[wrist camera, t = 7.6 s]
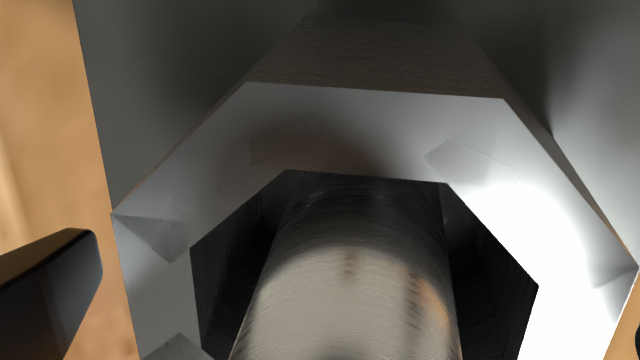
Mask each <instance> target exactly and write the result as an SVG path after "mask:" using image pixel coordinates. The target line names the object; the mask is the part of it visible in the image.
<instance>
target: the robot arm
mask: <svg viewBox="0 0 640 360" xmlns="http://www.w3.org/2000/svg"><path fill="white" fill-rule="evenodd" d="M102 276H103V266H102V262H101V257H100V252H99V248H98V243H97V239H96V236H95V234H94V233H93V232H92V231H91V230H88V229H79V228H66V229H63V230H61V231H58V232H56V233H53V234H51V235H49V236H46V237H44V238H41V239H39V240H37V241H34V242H32V243H29V244H27V245H24V246H22V247H20V248H17V249H15V250H12V251H10V252H8V253H5V254H3V255H0V360H63V358H64V357H65V355H66V353H67V351H68V349H69V347H70V345H71V343H72V341H73V339H74V337H75V335H76V333H77V331H78V328H79V326H80V324H81V322H82V320H83V318H84V316H85V314H86V312H87V310H88V308H89V306H90V304H91V302H92V300H93V298H94V295H95V293H96V291H97V289H98V287H99V285H100V283H101V280H102ZM635 347H636V351H637V355H638V358H639V360H640V324H639V326H638V328H637V331H636V334H635Z"/></svg>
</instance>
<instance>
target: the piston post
mask: <svg viewBox="0 0 640 360" xmlns="http://www.w3.org/2000/svg"><path fill="white" fill-rule="evenodd" d="M72 2H73V7H74V12H75V17H76V23H77V28H78V33H79V38H80V44H81V49H82V54H83V59H84V64H85V70H86V75H87V80H88V85H89V90H90V96H91V101H92V106H93V111H94V116H95V122H96V127H97V132H98V137H99V142H100V148H101V153H102V158H103V163H104V169H105V174H106V179H107V184H108V189H109V195H110V200H111V205H112V210H113V211H114V210H115V209H116V207H117V206H118V205H119V204H120V203H121V202H122V201H123V200H124V199H125V198H126V197H127V196H128V195H129V194H130V193H131V192H132V190H133V189H134V188H135V187H136V186H137V185H138V184H139V183H140V182H141V181H142V180H143V179H144V178H145V177H146V176H147V175H148V173H149V172H150V171H151V170H152V169H153V168H154V167H155V166H156V165H157V164H158V163H159V162H160V161H161V160H162V159H163V158H164V156H165V155H166V154H167V153H168V152H169V151H170V150H171V149H172V148H173V147H174V146H175V145H176V144H177V143H178V142H179V141H180V139H181V138H182V137H183V136H184V135H185V134H186V133H187V132H188V131H189V130H190V129H191V128H192V127H193V126H194V125H195V124H196V122H197V121H198V120H199V119H200V118H201V117H202V116H203V115H204V114H205V113H206V112H207V111H208V110H209V109H210V108H211V107H212V106H213V105H214V104H215V103H216V102H217V101H218V100H219V99H220V98H221V97H222V96H223V95H224V94H225V93H226V92H227V91H228V90H229V89H230V88H231V87H232V86H233V85H234V84H235V83H236V82H237V81H238V80H239V79H240V78H241V77H243V76H244V75H245V74H246V73H247V72H248V71H249V70H250V69H251V68H252V67H253V66H254V65H255V64H256V63H257V62H258V61H259V60H260V59H261V58H262V57H263V56H264V55H265V54H266V53H267V52H268V51H269V50H270V49H271V48H272V47H273V46H274V45H275V44H276V43H277V42H278V41H279V40H280V39H281V38H282V37H283V36H284V35H285V34H286V33H287V32H288V31H289V30H290V29H291V28H292V27H293V26H294V25H295V24H296V23H297V22H298V21H299V20H300V19H301V18H302V17H321V18H340V19H359V20H378V21H397V22H416V23H435V24H454V25H464V26H465V28H466V29H467V30H468V31H469V33H470V34H471V35H472V36H473V38H474V39H475V40H476V41H477V43H478V44H479V45H480V47H481V48H482V49H483V50H484V52H485V53H486V54H487V55H488V57H489V58H490V59H491V60H492V62H493V63H494V64H495V65H496V67H497V68H498V69H499V70H500V72H501V73H502V74H503V75H504V77H505V78H506V79H507V80H508V82H509V83H510V84H511V85H512V87H513V88H514V89H515V90H516V92H517V93H518V94H519V95H520V97H521V98H522V99H523V100H524V102H525V103H526V104H527V105H528V107H529V108H530V109H531V110H532V112H533V113H534V114H535V115H536V117H537V118H538V119H539V120H540V122H541V123H542V124H543V125H544V127H545V128H546V129H547V130H548V132H549V133H550V134H551V135H552V137H553V138H554V139H555V141H556V142H557V144H558V145H559V147H560V148H561V150H562V151H563V153H564V154H565V156H566V157H567V159H568V160H569V162H570V163H571V165H572V166H573V168H574V169H575V171H576V172H577V174H578V175H579V177H580V178H581V180H582V181H583V183H584V184H585V186H586V187H587V189H588V190H589V192H590V193H591V195H592V196H593V198H594V199H595V201H596V202H597V204H598V205H599V207H600V208H601V210H602V211H603V213H604V214H605V216H606V217H607V219H608V220H609V222H610V223H611V225H612V226H613V228H614V229H615V231H616V232H617V234H618V235H619V237H620V238H621V240H622V241H623V243H624V244H625V246H626V247H627V249H628V250H629V252H630V253H631V255H632V256H633V258H634V259H635V261H636V262H637V264H638V265H639V270H638V272H637V275H636V277H635V279H634V282H633V284H632V287H631V289H630V292H629V294H628V297H627V299H626V301H625V304H624V306H623V309H622V311H621V314H622V312H623V310H624V307H625V305H626V303H627V300H628V298H629V296H630V293H631V291H632V288H633V286H634V284H635V281H636V279H637V277H638V274H639V272H640V0H72ZM260 210H261V217H262V218H263V219H264V220H265V221H266V222H267V223H268V224H269V225H270V226H271V227H273V228H274V229H275V230H276V231H277V232H276V235H275V238H274V240H273V243H272V246H271V248H270V251H269V253H268V256H267V259H266V261H265V264H264V267H263V269H262V272H261V275H260V277H259V280H258V283H257V285H256V288H255V291H254V293H253V296H252V298H251V301H250V304H249V306H248V309H247V312H246V314H245V317H244V320H243V322H242V325H241V328H240V330H239V333H238V335H237V338H236V341H235V343H234V346H233V349H232V351H231V354H230V357H229V359H228V360H463V359H462V352H461V345H460V337H459V330H458V323H457V316H456V309H455V301H454V294H453V287H452V280H451V273H450V266H449V258H448V253H450V252H451V251H453V250H455V249H456V248H458V247H460V246H461V245H463V244H465V243H466V242H468V241H470V240H471V239H473V238H474V237H475V234H476V229H477V224H478V219H479V218H478V217H477V216H476V215H475V214H474V212H473V211H472V210H471V209H470V208H469V207H468V206H467V205H466V204H465V202H464V201H463V200H462V199H461V198H460V197H459V196H458V195H457V194H456V193H455V191H454V190H453V189H452V188H451V187H450V186H449V185H448V184H447V183H443V182H431V181H420V180H408V179H397V178H385V177H374V176H362V175H350V174H339V173H327V172H316V171H304V170H292V169H285V170H284V171H283V172H281V173H280V174H279V175H278V176H277V177H275V178H274V179H273V180H272V181H270V182H269V183H268V184H267V185H266V186H264V187H263V188H262V189H261V190H260ZM621 314H620V316H619V319H620V317H621ZM619 319H618V321H619ZM618 321H617V323H616V326H617V324H618ZM616 326H615V328H614V331H615V329H616ZM614 331H613V333H614ZM613 333H612V336H613ZM612 336H611V338H612ZM611 338H610V340H611ZM610 340H609V343H610ZM609 343H608V345H609ZM608 345H607V347H608ZM606 350H607V348H606ZM606 350H605V352H606ZM604 355H605V353H604ZM604 355H603V357H604ZM602 359H603V358H602Z"/></svg>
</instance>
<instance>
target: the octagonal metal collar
mask: <svg viewBox="0 0 640 360" xmlns="http://www.w3.org/2000/svg"><path fill="white" fill-rule="evenodd" d="M285 169H292V170H304V171H316V172H327V173H339V174H350V175H362V176H374V177H385V178H397V179H408V180H420V181H431V182H443V183H447V184H448V185H449V186H450V187H451V188H452V189H453V190H454V191H455V193H456V194H457V195H458V196H459V197H460V198H461V199H462V200H463V201H464V202H465V204H466V205H467V206H468V207H469V208H470V209H471V210H472V211H473V212H474V214H475V215H476V216H477V217H478V218H479V219H478V224H477V229H476V234H475V237H474V238H473V239H471V240H470V241H468V242H466V243H465V244H463V245H461V246H460V247H458V248H456V249H455V250H453V251H451V252H450V253H448V258H449V266H450V273H451V280H452V287H453V294H454V301H455V309H456V316H457V323H458V330H459V337H460V345H461V352H462V359H463V360H602V358H603V355H604V353H605V350H606V348H607V345H608V343H609V340H610V338H611V336H612V333H613V331H614V328H615V326H616V323H617V321H618V319H619V316H620V314H621V311H622V309H623V306H624V304H625V301H626V299H627V297H628V294H629V292H630V289H631V287H632V284H633V282H634V279H635V277H636V275H637V272H638V270H639V265H638V264H637V262H636V261H635V259H634V258H633V256H632V255H631V253H630V252H629V250H628V249H627V247H626V246H625V244H624V243H623V241H622V240H621V238H620V237H619V235H618V234H617V232H616V231H615V229H614V228H613V226H612V225H611V223H610V222H609V220H608V219H607V217H606V216H605V214H604V213H603V211H602V210H601V208H600V207H599V205H598V204H597V202H596V201H595V199H594V198H593V196H592V195H591V193H590V192H589V190H588V189H587V187H586V186H585V184H584V183H583V181H582V180H581V178H580V177H579V175H578V174H577V172H576V171H575V169H574V168H573V166H572V165H571V163H570V162H569V160H568V159H567V157H566V156H565V154H564V153H563V151H562V150H561V148H560V147H559V145H558V144H557V142H556V141H555V139H554V138H553V137H552V135H551V134H550V133H549V132H548V130H547V129H546V128H545V127H544V125H543V124H542V123H541V122H540V120H539V119H538V118H537V117H536V115H535V114H534V113H533V112H532V110H531V109H530V108H529V107H528V105H527V104H526V103H525V102H524V100H523V99H522V98H521V97H520V95H519V94H518V93H517V92H516V90H515V89H514V88H513V87H512V85H511V84H510V83H509V82H508V80H507V79H506V78H505V77H504V75H503V74H502V73H501V72H500V70H499V69H498V68H497V67H496V65H495V64H494V63H493V62H492V60H491V59H490V58H489V57H488V55H487V54H486V53H485V52H484V50H483V49H482V48H481V47H480V45H479V44H478V43H477V41H476V40H475V39H474V38H473V36H472V35H471V34H470V33H469V31H468V30H467V29H466V28H465V26H464V25H454V24H435V23H416V22H397V21H378V20H359V19H340V18H321V17H302V18H301V19H300V20H299V21H298V22H297V23H296V24H295V25H294V26H293V27H292V28H291V29H290V30H289V31H288V32H287V33H286V34H285V35H284V36H283V37H282V38H281V39H280V40H279V41H278V42H277V43H276V44H275V45H274V46H273V47H272V48H271V49H270V50H269V51H268V52H267V53H266V54H265V55H264V56H263V57H262V58H261V59H260V60H259V61H258V62H257V63H256V64H255V65H254V66H253V67H252V68H251V69H250V70H249V71H248V72H247V73H246V74H245V75H244V76H243V77H241V78H240V79H239V80H238V81H237V82H236V83H235V84H234V85H233V86H232V87H231V88H230V89H229V90H228V91H227V92H226V93H225V94H224V95H223V96H222V97H221V98H220V99H219V100H218V101H217V102H216V103H215V104H214V105H213V106H212V107H211V108H210V109H209V110H208V111H207V112H206V113H205V114H204V115H203V116H202V117H201V118H200V119H199V120H198V121H197V122H196V124H195V125H194V126H193V127H192V128H191V129H190V130H189V131H188V132H187V133H186V134H185V135H184V136H183V137H182V138H181V139H180V141H179V142H178V143H177V144H176V145H175V146H174V147H173V148H172V149H171V150H170V151H169V152H168V153H167V154H166V155H165V156H164V158H163V159H162V160H161V161H160V162H159V163H158V164H157V165H156V166H155V167H154V168H153V169H152V170H151V171H150V172H149V173H148V175H147V176H146V177H145V178H144V179H143V180H142V181H141V182H140V183H139V184H138V185H137V186H136V187H135V188H134V189H133V190H132V192H131V193H130V194H129V195H128V196H127V197H126V198H125V199H124V200H123V201H122V202H121V203H120V204H119V205H118V206H117V207H116V209H115V210H114V211H113V212H112V213H111V214H110V215H111V220H112V225H113V230H114V235H115V239H116V244H117V249H118V254H119V259H120V264H121V269H122V274H123V279H124V284H125V288H126V293H127V298H128V303H129V308H130V313H131V318H132V323H133V328H134V333H135V338H136V342H137V347H138V352H139V357H140V360H228V359H229V357H230V354H231V351H232V349H233V346H234V343H235V341H236V338H237V335H238V333H239V330H240V328H241V325H242V322H243V320H244V317H245V314H246V312H247V309H248V306H249V304H250V301H251V298H252V296H253V293H254V291H255V288H256V285H257V283H258V280H259V277H260V275H261V272H262V269H263V267H264V264H265V261H266V259H267V256H268V253H269V251H270V248H271V246H272V243H273V240H274V238H275V235H276V232H277V231H276V230H275V229H274V228H273V227H271V226H270V225H269V224H268V223H267V222H266V221H265V220H264V219H263V218H262V217H261V210H260V190H261V189H262V188H263V187H264V186H266V185H267V184H268V183H269V182H270V181H272V180H273V179H274V178H275V177H277V176H278V175H279V174H280V173H281V172H283V171H284V170H285Z"/></svg>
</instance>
